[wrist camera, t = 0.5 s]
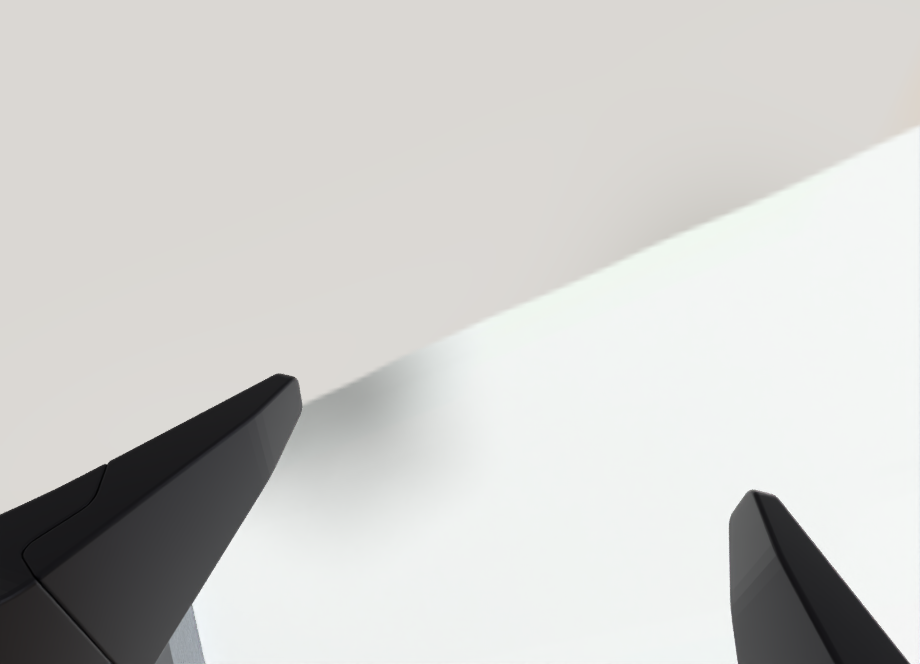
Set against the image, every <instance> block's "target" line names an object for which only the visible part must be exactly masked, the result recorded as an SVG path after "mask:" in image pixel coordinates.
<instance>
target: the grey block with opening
mask: <svg viewBox="0 0 920 664" xmlns="http://www.w3.org/2000/svg"><path fill="white" fill-rule="evenodd" d="M155 664H205V663H204V658H203V654H202V649H201V644H200V640H199V635H198V631H197V626H196V622H195V617H194V612H193V608H192V605H191V606H190V608H189V610H188V611H187V613H186V615H185V616H184V618H183V619H182V621H181V623H180V624H179V626H178V627H177V629H176V631H175V632H174V634H173V635H172V637H171V639H170V640H169V642H168V644H167V645H166V647H165V648H164V650H163V652H162V653H161V655H160V656H159V658H158V660H157V661H156V663H155Z"/></svg>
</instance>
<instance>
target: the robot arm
mask: <svg viewBox="0 0 920 664" xmlns="http://www.w3.org/2000/svg"><path fill="white" fill-rule="evenodd" d="M301 411H302V400H301V394H300V388H299V383H298V380H297V379H296V378H295V377H293V376H289V375H284V374H275V375H273V376H271V377H269V378H267V379H265V380H264V381H262V382H260V383H258V384H256V385H254V386H252V387H250V388H248V389H246V390H245V391H243V392H241V393H239V394H237V395H235V396H233V397H231V398H230V399H228V400H226V401H224V402H222V403H220V404H218V405H216V406H214V407H212V408H210V409H208V410H207V411H205V412H203V413H201V414H199V415H197V416H195V417H194V418H191V419H189V420H187V421H186V422H184V423H182V424H180V425H178V426H176V427H174V428H172V429H170V430H168V431H167V432H165V433H163V434H161V435H159V436H157V437H155V438H154V439H151V440H150V441H147V442H146V443H144V444H142V445H140V446H138V447H136V448H134V449H132V450H130V451H129V452H127V453H125V454H123V455H121V456H119V457H117V458H115V459H113V460H111V461H110V462H109V463H108V465H107V464H104V465H102V466H100V467H98V468H96V469H94V470H92V471H90V472H88V473H86V474H85V475H83V476H80V477H79V478H76V479H75V480H73V481H71V482H69V483H67V484H65V485H63V486H61V487H59V488H57V489H55V490H53V491H51V492H48V493H46V494H44V495H42V496H40V497H38V498H36V499H33V500H31V501H29V502H27V503H25V504H23V505H21V506H18V507H16V508H14V509H12V510H9V511H8V512H5V513H3V514H1V515H0V664H155V663H156V661H157V660H158V658H159V656H160V655H161V653H162V652H163V650H164V648H165V647H166V645H167V644H168V642H169V640H170V639H171V637H172V635H173V634H174V632H175V631H176V629H177V627H178V626H179V624H180V623H181V621H182V619H183V618H184V616H185V615H186V613H187V611H188V610H189V608H190V606H191V605H192V603H193V602H194V600H195V598H196V597H197V595H198V594H199V592H200V590H201V589H202V587H203V585H204V584H205V582H206V581H207V579H208V577H209V576H210V574H211V573H212V571H213V569H214V568H215V566H216V564H217V563H218V561H219V560H220V558H221V556H222V555H223V553H224V552H225V550H226V548H227V547H228V545H229V543H230V542H231V540H232V539H233V537H234V535H235V534H236V532H237V531H238V529H239V527H240V526H241V524H242V522H243V521H244V519H245V518H246V516H247V514H248V513H249V511H250V510H251V508H252V506H253V505H254V503H255V502H256V500H257V498H258V497H259V495H260V493H261V492H262V490H263V489H264V487H265V485H266V484H267V482H268V480H269V478H270V477H271V475H272V473H273V471H274V469H275V467H276V465H277V463H278V461H279V459H280V456H281V454H282V452H283V450H284V448H285V446H286V444H287V442H288V440H289V438H290V435H291V433H292V431H293V429H294V427H295V425H296V423H297V421H298V419H299V417H300V414H301ZM729 562H730V603H731V615H732V623H733V631H734V638H735V646H736V653H737V660H738V664H910V663H909V662H908V660H907V659H906V658H905V657H904V655H903V654H902V653H901V652H900V650H899V649H898V648H897V647H896V645H895V644H894V643H893V642H892V640H891V639H890V638H889V637H888V635H887V634H886V633H885V632H884V630H883V629H882V628H881V626H880V625H879V624H878V623H877V621H876V620H875V619H874V618H873V616H872V615H871V614H870V613H869V611H868V610H867V609H866V608H865V606H864V605H863V604H862V603H861V601H860V600H859V599H858V598H857V596H856V595H855V594H854V593H853V591H852V590H851V589H850V588H849V586H848V585H847V584H846V583H845V581H844V580H843V579H842V578H841V576H840V575H839V574H838V573H837V571H836V570H835V569H834V567H833V566H832V565H831V564H830V562H829V561H828V560H827V559H826V557H825V556H824V555H823V554H822V552H821V551H820V550H819V549H818V547H817V546H816V545H815V544H814V542H813V541H812V540H811V539H810V537H809V536H808V535H807V534H806V532H805V531H804V530H803V529H802V527H801V526H800V525H799V524H798V522H797V521H796V520H795V519H794V517H793V516H792V515H791V514H790V512H789V511H788V510H787V508H786V507H785V506H784V505H783V503H782V502H781V501H780V500H779V499H778V498H777V497H776V496H775V495H773V494H770V493H766V492H762V491H758V490H750V491H748V492H747V493H746V494H745V496H744V497H743V498H742V500H741V501H740V503H739V504H738V506H737V507H736V508H735V510H734V511H733V513H732V515H731V517H730V521H729Z"/></svg>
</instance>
